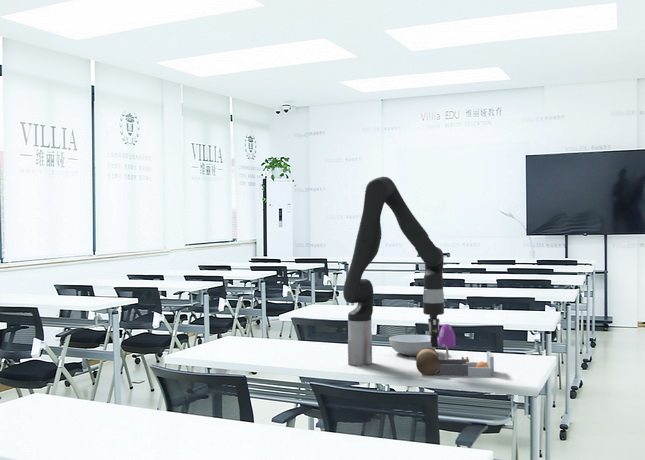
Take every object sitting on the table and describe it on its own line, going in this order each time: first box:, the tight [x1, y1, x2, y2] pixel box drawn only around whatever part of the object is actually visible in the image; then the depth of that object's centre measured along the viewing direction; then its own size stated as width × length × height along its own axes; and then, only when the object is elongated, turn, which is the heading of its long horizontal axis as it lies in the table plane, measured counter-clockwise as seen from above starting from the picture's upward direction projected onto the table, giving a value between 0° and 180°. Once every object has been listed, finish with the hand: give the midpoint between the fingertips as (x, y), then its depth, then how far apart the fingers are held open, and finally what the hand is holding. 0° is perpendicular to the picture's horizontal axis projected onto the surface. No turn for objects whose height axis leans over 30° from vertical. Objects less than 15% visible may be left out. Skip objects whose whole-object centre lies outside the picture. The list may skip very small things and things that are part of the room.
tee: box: [461, 356, 470, 362], centre depth 239 cm, size 3×3×4 cm
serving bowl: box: [388, 334, 437, 357], centre depth 270 cm, size 21×21×7 cm
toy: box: [438, 323, 456, 359], centre depth 252 cm, size 7×7×15 cm
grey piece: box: [438, 351, 495, 378], centre depth 232 cm, size 19×10×7 cm, turn 82°
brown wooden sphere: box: [415, 347, 440, 377], centre depth 234 cm, size 10×8×8 cm
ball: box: [476, 361, 488, 368], centre depth 230 cm, size 4×4×4 cm
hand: (434, 345), depth 234 cm, fingers open, 8 cm apart
